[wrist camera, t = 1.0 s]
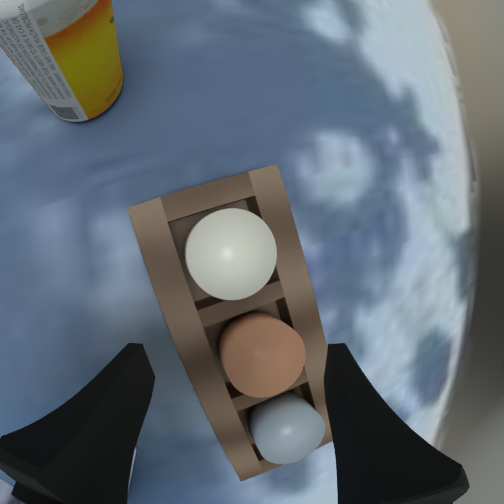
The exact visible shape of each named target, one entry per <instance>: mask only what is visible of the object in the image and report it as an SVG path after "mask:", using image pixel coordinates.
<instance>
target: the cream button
mask: <svg viewBox="0 0 504 504" xmlns="http://www.w3.org/2000/svg"><path fill="white" fill-rule="evenodd" d="M276 259H277V248H276V243H275V239H274V236H273V234H272V232H271V230H270V229H269V227H268V226H267V224H266V223H265V222H264V221H263V220H262V219H261V218H259V217H258V216H257V215H255V214H253V213H251V212H249V211H246V210H243V209H237V208H229V209H223V210H219V211H216V212H214V213H211V214H209V215H206V216H204V217H203V218H201V219H200V220H198V221H197V222H196V223H195V224H194V225H193V227H192V228H191V229H190V231H189V233H188V235H187V237H186V240H185V243H184V261H185V264H186V267H187V269H188V271H189V273H190V275H191V276H192V277H193V279H194V280H195V282H196V283H197V284H198V285H199V286H200V287H201V288H202V289H203V290H204V291H205V292H207V293H208V294H210V295H212V296H214V297H216V298H219V299H223V300H239V299H243V298H247V297H249V296H251V295H253V294H255V293H256V292H258V291H259V290H260V289H261V288H262V287H263V286H264V285H265V284H266V283H267V282H268V280H269V279H270V277H271V275H272V273H273V271H274V268H275V265H276Z"/></svg>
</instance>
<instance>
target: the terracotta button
mask: <svg viewBox="0 0 504 504" xmlns="http://www.w3.org/2000/svg"><path fill="white" fill-rule="evenodd" d="M218 355H219V359H220V362H221V364H222V366H223V368H224V370H225V372H226V374H227V376H228V377H229V379H230V381H231V383H232V384H233V386H234V387H235V388H236V389H237V390H239V391H240V392H241V393H243V394H245V395H248V396H251V397H257V398H264V397H270V396H274V395H277V394H279V393H281V392H283V391H284V390H286V389H287V388H289V387H290V386H291V385H292V384H293V383H294V382H295V381H296V380H297V378H298V377H299V375H300V374H301V372H302V370H303V367H304V364H305V357H306V352H305V346H304V343H303V340H302V338H301V337H300V335H299V334H298V333H297V332H296V331H295V330H294V329H293V328H291V327H290V326H288V325H287V324H285V323H284V322H283V321H281V320H280V319H278V318H277V317H275V316H274V315H272V314H269V313H266V312H259V311H255V312H248V313H245V314H242V315H240V316H238V317H237V318H235V319H234V320H232V321H231V322H230V323H229V324H228V325H227V326H226V328H225V329H224V330H223V332H222V334H221V336H220V339H219V343H218Z"/></svg>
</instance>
